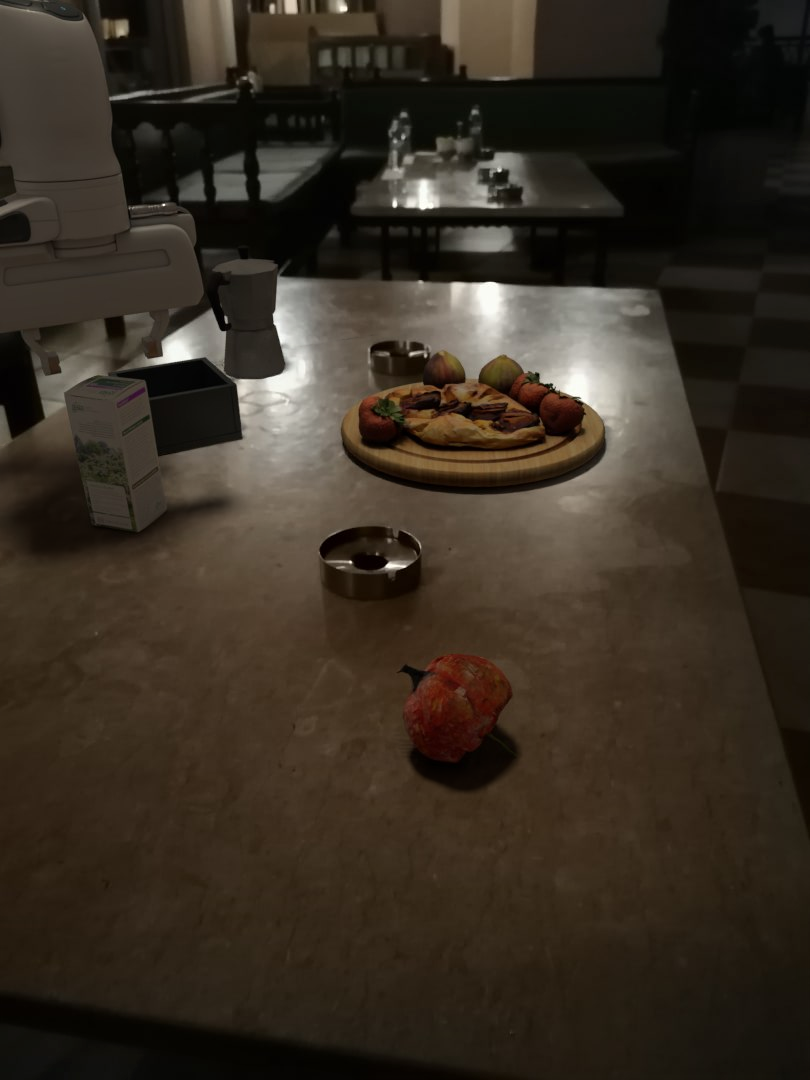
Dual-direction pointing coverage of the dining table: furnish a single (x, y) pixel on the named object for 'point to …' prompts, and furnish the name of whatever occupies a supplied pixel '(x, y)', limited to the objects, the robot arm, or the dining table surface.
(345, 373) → the dining table surface
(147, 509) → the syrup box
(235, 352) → the coffeepot
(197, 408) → the open box
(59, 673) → the dining table surface
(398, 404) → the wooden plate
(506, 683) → the red rounded piece
